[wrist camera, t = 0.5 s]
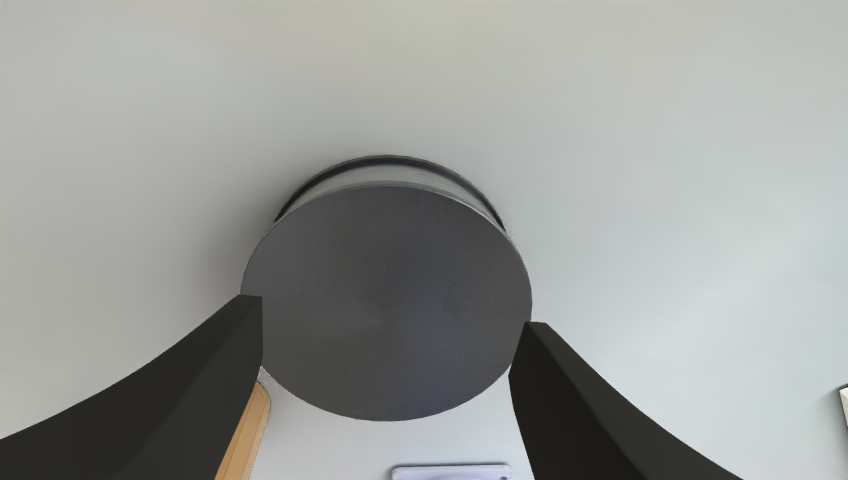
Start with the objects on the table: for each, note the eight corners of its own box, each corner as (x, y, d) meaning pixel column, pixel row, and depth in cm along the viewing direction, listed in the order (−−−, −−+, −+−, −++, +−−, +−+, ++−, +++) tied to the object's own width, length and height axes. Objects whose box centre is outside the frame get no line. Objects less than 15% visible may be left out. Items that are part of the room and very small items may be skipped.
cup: (276, 433, 28) (244, 543, 23) (184, 435, 28) (128, 547, 22) (264, 365, 26) (225, 469, 20) (162, 366, 25) (93, 473, 20)
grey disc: (498, 363, 26) (514, 419, 23) (280, 366, 26) (261, 424, 22) (527, 154, 21) (554, 185, 17) (246, 150, 20) (213, 182, 16)
